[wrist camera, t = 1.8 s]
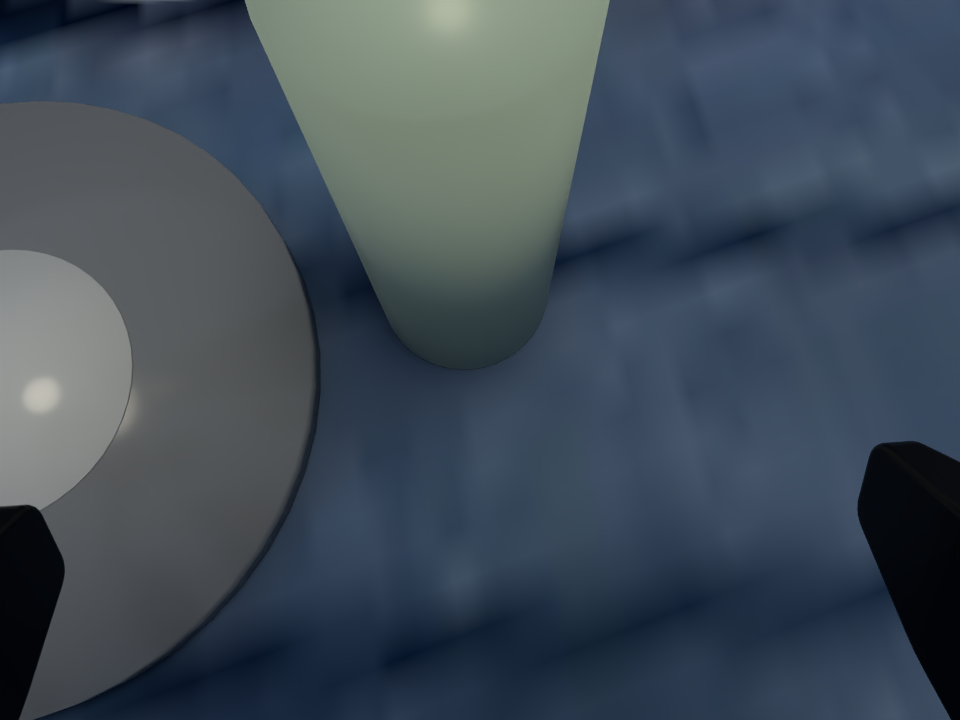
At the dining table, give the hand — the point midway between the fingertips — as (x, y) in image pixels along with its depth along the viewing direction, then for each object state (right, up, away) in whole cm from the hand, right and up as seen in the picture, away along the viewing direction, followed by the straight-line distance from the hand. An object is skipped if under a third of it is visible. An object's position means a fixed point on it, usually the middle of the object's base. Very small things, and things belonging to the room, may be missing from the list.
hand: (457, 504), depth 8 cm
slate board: (-13, +1, +14) cm, 19 cm away
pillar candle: (0, +4, +14) cm, 15 cm away
